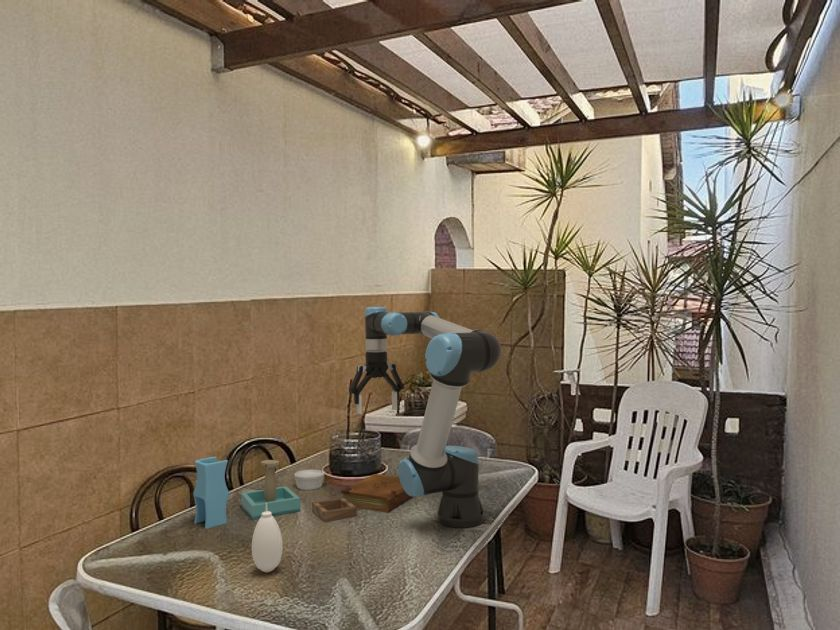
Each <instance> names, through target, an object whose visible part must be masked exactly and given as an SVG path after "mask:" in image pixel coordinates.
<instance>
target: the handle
mask: <svg viewBox="0 0 840 630" xmlns="http://www.w3.org/2000/svg"><path fill="white" fill-rule="evenodd" d="M260 466H261V467H262V468H263V469H264V472H265V473H264V487H263V490H264V495H265V501H266V502H271V501H275V500H276V488H277V481H276V468H278V467H279V466H280V461H279V460H278V459H277V460H275V459H265V460H262V461H260Z"/></svg>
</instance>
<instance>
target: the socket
mask: <svg viewBox="0 0 840 630" xmlns="http://www.w3.org/2000/svg"><path fill="white" fill-rule="evenodd" d="M311 508H312V509H311V510H312V511H311V512H312V513H314V514H315V515H316V516H317V517H318V518H319V519H320V520H322V521H323V522H324V523H327V522H332V521H337V520H338V521H339V520H343V519H349V518H353V517H355V518H356V517H357V516H358V513H357V511H358V510H357V509H358V508H357V507H356V506H354V505H353V504H352V503H350V502H349V501H347V500H346V499H345V498H343V496H342V497H337V498H329V499H325V500H324V499H323V500H320V501H319V500H318V501H313V502H312V504H311Z"/></svg>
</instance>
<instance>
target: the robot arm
mask: <svg viewBox="0 0 840 630" xmlns="http://www.w3.org/2000/svg"><path fill="white" fill-rule="evenodd" d="M364 312H365V314H364V315H365V316H364V331H365V333H364V334H365V350H366V352H365V366H364V365H357V367H356V373H355V375H354V377H353V380H352V382H351V384H350V387H349V389H348V393H350V394H352V395H353V403H354V404H355V405H356V414H358V415H361V414H363V410H362V409H363V406H362V405H363V403H362V402H363V400H362V394H361V392H362V391H363V390H364V388H365V387H366V385H367V384H368V383H369V381H370V380H371V379H376V378H383V379H384V380H385V382H386V383H387V384H388V385H389V386H390V387H391V389H393V390H391V409H392V410H393V411H398V401H400V392H401V391H402V390H404V389H405V386H404V384H403V383H404V382H402V379H401V378H400V375H399V373H398V371H397V367H396V364H395V363H389V364H388V352H387V351H386V350H388V336H390V337H391V336H401V335H422V336H424V337H426V338H427V337H428V338H429V339H431V340H430V341H428V345H427V347H426V350H425V354H424V355H425V360H426V361H425V366H426V369H427V370H428V372H429V376H430V377H431V379H432V383H431V387H430V392H429V395H428V399H427V402H426V403H427V404H426V408H425V411H424V416H423V419H422V424H421V427H420V431H419V435H418V439H417V442H416V444H415V445H413V446H412V447H411V448H410V451H409V454H408V458H407V457H404V458H402V459H401V460H399V463H398V467H397V468H398V469H397V473H398V477H399V479H400V483H401V485H402V487H403V489H404V491H405V492H406V493H407V494H408V495H409V496H412V498H414V497H415V498H416V497H424V496H428V495H432V494H437V493H442V494H441V498H440V502H439V505H438V509H437V512H436V520H437V522H438V523H439V524H441V525H443V526H446V527H452V528H463V529H464V528H471V527H472V528H473V527H476V526H479V525H482V524H483V523H484V521H485V511H484V509H483V504H482V502H481V499H480V494H479V493H480V492H479V465H480V463H479V453H478V452H477V451H476V450H475V449H473V448H471V447H466V446H459V445H447V443H448V440H449V436H450V433H451V429H452V425H453V421H454V418H455V415H456V411H457V406H458V402H459V399H460V395H461V393H462V388H464V387H466V386H468V385H469V382H470V381H471V380H470V379H471V376H472V374H473V373H481V372H487V371H489V370H491V369H493V368H494V367H495V366H497V364H498V363H499V361H500V359H501V356H502V346H501V342H500V340H499V339H498V338H497V337H496V336H495V335H494V334H493V333H491V332H488V331H487V330H486V331H485V330H483V329H470V328H468V327H465V326H462V325H460V324H457V323H454V322H452V321H449V320H445V319H444V318H440V316H439V314H438V313H437V312H434V311H413V312H412V311H408V312H407V311H405V312H404V311H403V312H401V311H398V312H395V311H394V312H388V311H387V308H386V307H385V306H367V307H366V308H365V311H364ZM388 370H389V371H390V373H391V376H392V377H391V376H390V375H389V374H388V372H387V371H388ZM364 372H366V373H365V375H364V376H363V373H364ZM362 376H363V378H362ZM361 378H362V380H361ZM392 378H393V379H392Z"/></svg>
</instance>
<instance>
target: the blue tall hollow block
mask: <svg viewBox="0 0 840 630" xmlns="http://www.w3.org/2000/svg"><path fill="white" fill-rule="evenodd" d="M228 461H229V460H228V459H225V460H219V461H217V456H212V457H210V456H209V457H206V458H205V457H204V458H201V459H196V460H194V463H195V468H196V476H197V477H196V484H195V487H194V490H193V491H192V492H193V494H192V495H193V498H194V502H195V518H194V521H193V524H194V525H197V524H200V523H202V522H205V524H204V529H205V530H208V529H212V528H214V527H218V526H222V525H224V524H227V523H228V519H227V504H228V499H229V495H230V492H229V489H228V487H227V483H226V480H225V479H226V478H225V475H226V469H227V465H228Z"/></svg>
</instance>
